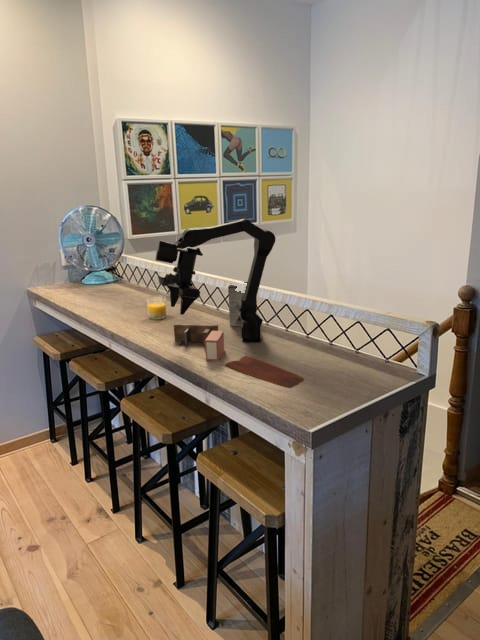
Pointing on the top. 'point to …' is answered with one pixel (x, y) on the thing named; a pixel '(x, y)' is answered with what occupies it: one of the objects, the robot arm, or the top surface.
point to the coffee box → (233, 299)
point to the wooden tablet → (265, 371)
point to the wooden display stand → (194, 331)
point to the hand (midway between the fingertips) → (177, 310)
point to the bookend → (186, 338)
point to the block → (214, 345)
